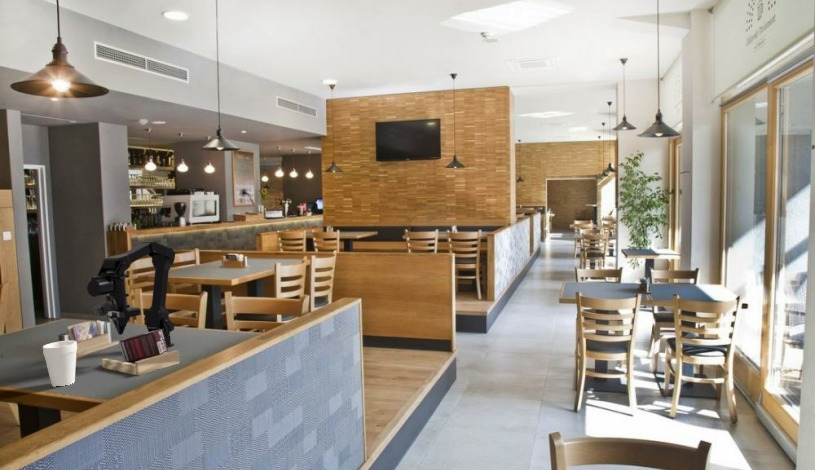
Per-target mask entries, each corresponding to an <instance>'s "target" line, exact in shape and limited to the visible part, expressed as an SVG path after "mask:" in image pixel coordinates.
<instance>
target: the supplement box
mask: <svg viewBox="0 0 815 470" xmlns="http://www.w3.org/2000/svg"><path fill="white" fill-rule="evenodd" d="M118 344H119V347H120V348H119V349H120V350H121V355H122V358H123V362H128V363H129V362H133V361H137V360H141V359H146V358H149V357H153V356H157V355H161V354H163V353H165V352H166V353H168V352H169V348H168V347H167V345H166V341H165V338H164V335H163V331H162V329H159V330H155V331H152V332H148V331H147V332H144V333H140V334H136V335H133V336H129V337H126V338H124V339H121V340H118Z"/></svg>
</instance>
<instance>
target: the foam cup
mask: <svg viewBox="0 0 815 470" xmlns="http://www.w3.org/2000/svg"><path fill="white" fill-rule="evenodd" d="M42 351H43V354H42V355H43V356H44V358H45V363H46V367H47V372H48V375H49V380H50V383H51V386H53V388H57V387H56V386H64V387H66V386H65V385H68V386H70V384H71V385H73V384H75V383H74V382H75V381H76V368H77V366H76V365H77V351H78V343H77V340H60V341H55V342H50V343H46V344H44V345H42ZM72 383H73V384H72Z"/></svg>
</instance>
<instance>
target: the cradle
mask: <svg viewBox="0 0 815 470" xmlns="http://www.w3.org/2000/svg"><path fill="white" fill-rule="evenodd" d="M177 364H180V353H179V350H173V351H167V352H165V353H163V354H161V355H157V356H153V357H149V358H145V359H144V360H141V361H137V362H135V364H132V363H128V362H124V360H123V361H121V360H116V359H111V358H107V357H106V358H102V359H101V365H102V367H101V368H103V369H107V370H111V371H115V372H121V373H125V374H130V375H134V376H142V375H145V374H149V373H151V372H155V371H158V369H159V370H161V369H164V368H168V367H171V366H175V365H177Z"/></svg>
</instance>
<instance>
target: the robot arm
mask: <svg viewBox="0 0 815 470" xmlns="http://www.w3.org/2000/svg"><path fill="white" fill-rule="evenodd" d="M145 256H148V257H150V258H151V264H152V265H153V268H154V279H153V288H152V289H153V290H152V298H151V299H152V300H151V306H150V307H149V309H145V311H144V319H143V321H144V325H145V326H146V329H147V333H148V332H152V331H155V330H159V329H162V331H163V335H164V338H165V341H166V345H167V348H168V347H169V348H170V347H171V346H175V343H172V341H171V340H172V339H171V338H172V337H171V332H173V331H174V330H175V325H176V324H175V323H173V321H171V319H170V314H169V310H168V309H167V306H166V301H167V292H168V291H167V290H168V284H169V283H168V282H169V271H170V269H171V268H172V266H173V265H174V263H175V258H176V253H175V250H174V249H173V248H172V247H168V246H165V245H162V244H161V243H158V242H156V241H154V240H146V241H145V240H144V241H143V242H142V243H141V244H139V245H137V246H135V247H133V248H131V249H130V250H127V251H125V252H124V253H121V254H116V255H111V256H109V257H108V256H107V257H106V258H104V259H103V261H102V262H103V263H102V265H101V267H100V269H99V270H98V273H97V275H96V276H92V277H90V279H91V280H89V282H88V283H87V286H86V290H87V292H88V295H89V296H90V297H94V298H96V297H99V296H104V295H105V297H104V300H103V301H101V302H99V303H97V304H95V305H93V306H92V307H91V309H92V311H93V314H94V315H95V317H96V316H99V317H103V316H106V318H107V319H109V320H111V321H112V323H113V325H114V327H115V330H116V332H117V334H118V335H120V336H121V335H123V333H124V331H125V329H126V328H127V327H126V326H127V324H128V322H129V320H130V318H132V317H138V316H141V315H142V309H141V308H139V307H138V306H131V305H130V304H128V301H127V297H128V298H129V297H130V295H129V293H128V292H127V288H126V279H128V278H130V275H129V274H127V273H126V271H127V270H128V269H130V268H131V265H132V264H133V263H134V262H136V261H138V260H141V258H144V257H145Z"/></svg>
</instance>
